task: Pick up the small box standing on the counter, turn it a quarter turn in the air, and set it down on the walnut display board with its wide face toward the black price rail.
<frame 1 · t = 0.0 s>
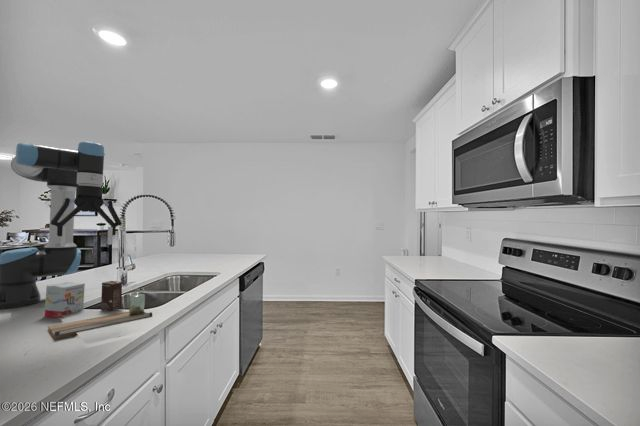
hand: (87, 245, 109), 28 cm above the counter, fingers open, 13 cm apart
box: (110, 312, 122), on the counter
green glass jar: (136, 313, 117), point 1 cm above the counter, touching shelf board
ink box: (64, 314, 118), on the counter
shelf board: (103, 324, 108), on the counter
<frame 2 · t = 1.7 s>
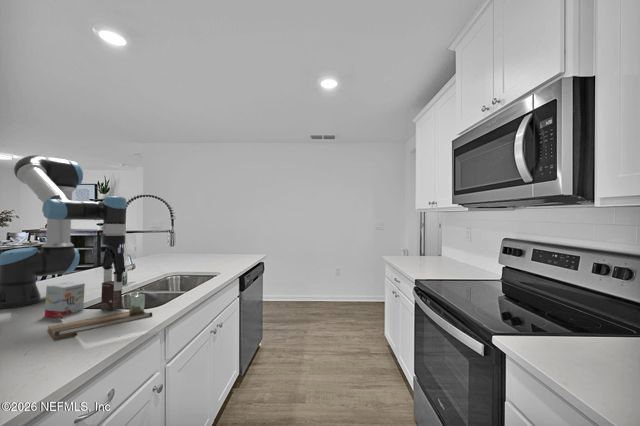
hand: (112, 287, 122), 10 cm above the counter, fingers open, 13 cm apart
nothing on the counter moved.
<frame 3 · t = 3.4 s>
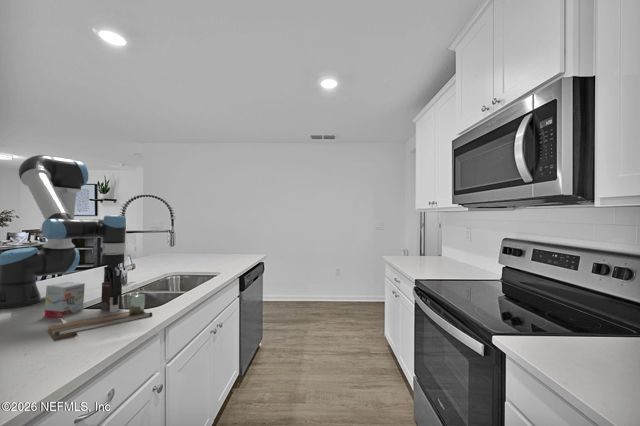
hand: (111, 310, 122), 1 cm above the counter, fingers closed on box, 7 cm apart
box: (110, 312, 122), on the counter, touching gripper
everything else where it was.
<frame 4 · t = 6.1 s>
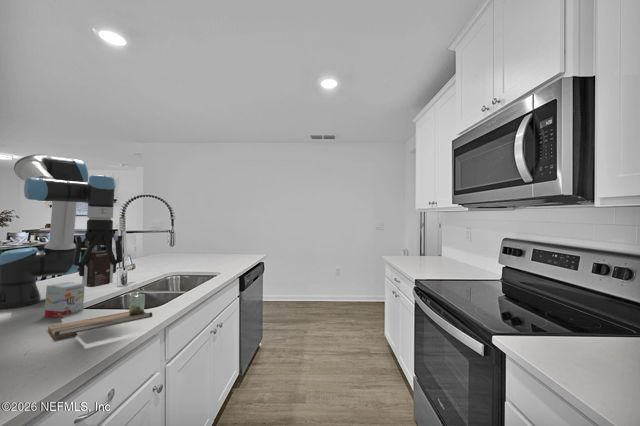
hand: (97, 283, 108), 14 cm above the counter, fingers closed on box, 7 cm apart
box: (97, 286, 108), point 14 cm above the counter, touching gripper
everything else where it was.
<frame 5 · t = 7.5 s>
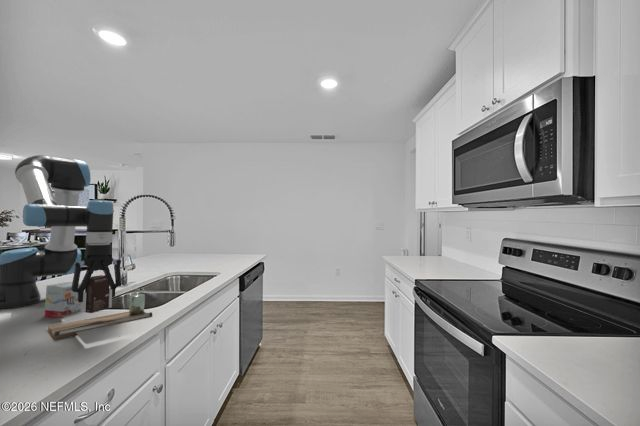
hand: (96, 308, 108), 6 cm above the counter, fingers closed on box, 7 cm apart
box: (96, 311, 108), point 5 cm above the counter, touching gripper
everything else where it was.
when the fingers open (3 cm above the counter, at t = 8.8 s): box drops 1 cm, point 1 cm above the counter.
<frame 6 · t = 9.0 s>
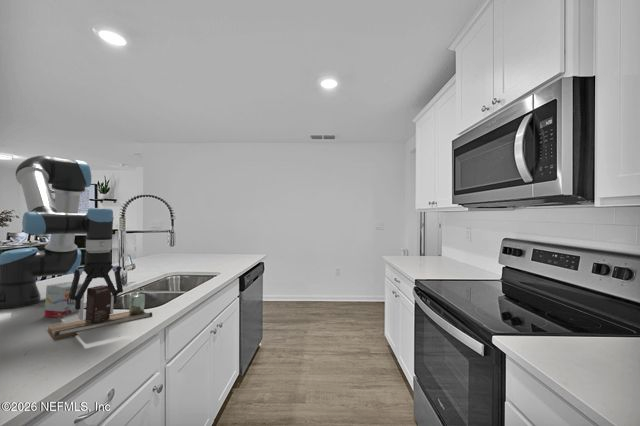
hand: (96, 315, 108), 3 cm above the counter, fingers open, 8 cm apart
box: (98, 321, 108), point 1 cm above the counter, touching gripper
everything else where it was.
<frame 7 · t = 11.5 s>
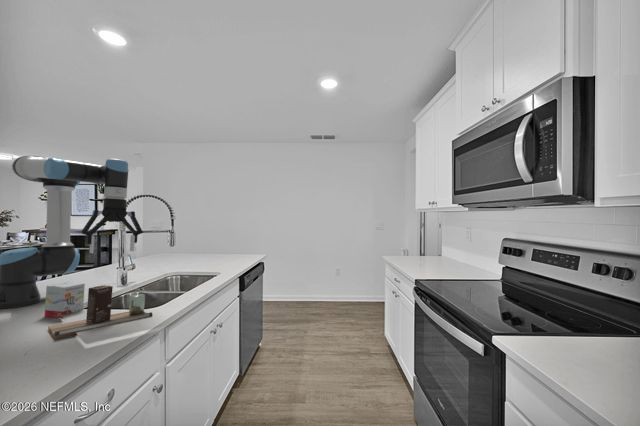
hand: (112, 252, 121), 24 cm above the counter, fingers open, 13 cm apart
box: (98, 321, 108), point 1 cm above the counter, touching shelf board
everything else where it was.
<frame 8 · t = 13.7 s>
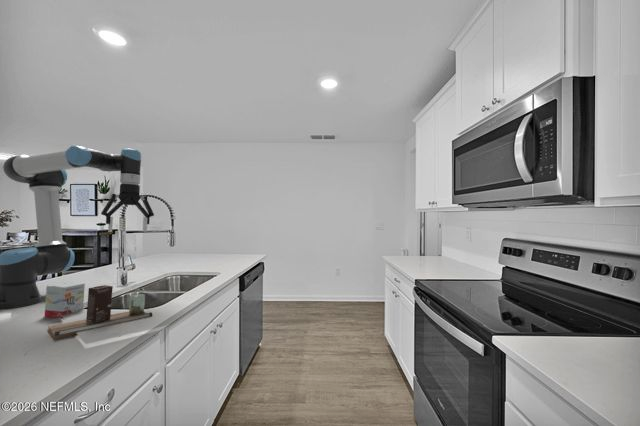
hand: (128, 231, 135), 32 cm above the counter, fingers open, 13 cm apart
nothing on the counter moved.
at the end: box inside the target area on the shelf board (0.9 cm from its centre), point 1.0 cm above the shelf board's base; box touching shelf board; box tilted 0° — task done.
